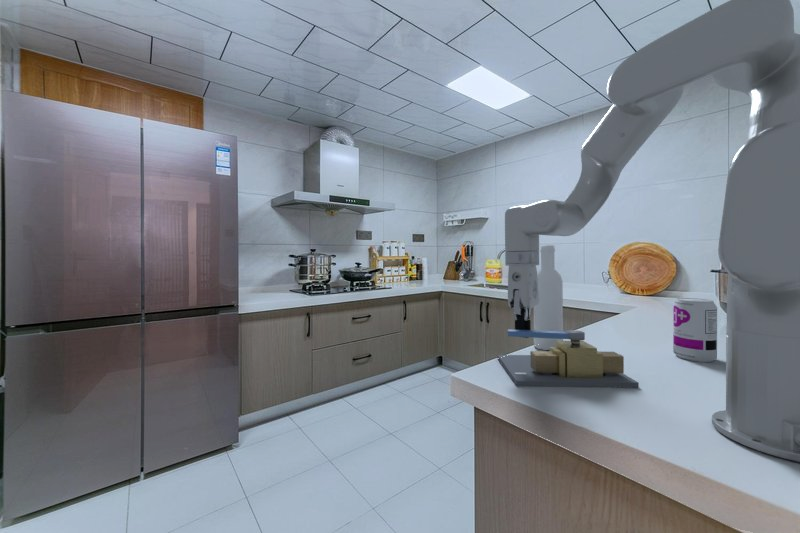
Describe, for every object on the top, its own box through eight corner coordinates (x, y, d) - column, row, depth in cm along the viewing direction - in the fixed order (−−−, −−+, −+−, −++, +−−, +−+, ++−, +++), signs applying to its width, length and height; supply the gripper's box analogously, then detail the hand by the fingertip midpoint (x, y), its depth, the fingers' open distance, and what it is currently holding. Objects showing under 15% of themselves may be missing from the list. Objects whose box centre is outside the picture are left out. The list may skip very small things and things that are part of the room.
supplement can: (684, 361, 79) (684, 301, 79) (667, 352, 87) (667, 297, 87) (725, 364, 77) (725, 302, 77) (703, 354, 85) (704, 298, 84)
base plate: (638, 387, 64) (638, 381, 64) (516, 385, 66) (516, 380, 66) (592, 359, 82) (592, 354, 82) (497, 358, 84) (497, 354, 84)
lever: (582, 336, 71) (582, 330, 71) (586, 340, 68) (586, 334, 68) (507, 333, 76) (507, 327, 76) (508, 337, 72) (508, 331, 72)
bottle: (560, 344, 96) (560, 245, 96) (566, 352, 89) (565, 244, 88) (532, 343, 99) (531, 246, 98) (535, 350, 91) (534, 245, 91)
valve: (627, 383, 66) (627, 343, 66) (537, 382, 68) (537, 343, 68) (610, 373, 72) (610, 336, 72) (529, 372, 74) (528, 336, 74)
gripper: (531, 259, 67) (531, 346, 67) (545, 258, 79) (546, 332, 80) (495, 259, 71) (496, 341, 72) (514, 259, 84) (515, 328, 84)
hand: (522, 336), depth 76 cm, fingers closed
